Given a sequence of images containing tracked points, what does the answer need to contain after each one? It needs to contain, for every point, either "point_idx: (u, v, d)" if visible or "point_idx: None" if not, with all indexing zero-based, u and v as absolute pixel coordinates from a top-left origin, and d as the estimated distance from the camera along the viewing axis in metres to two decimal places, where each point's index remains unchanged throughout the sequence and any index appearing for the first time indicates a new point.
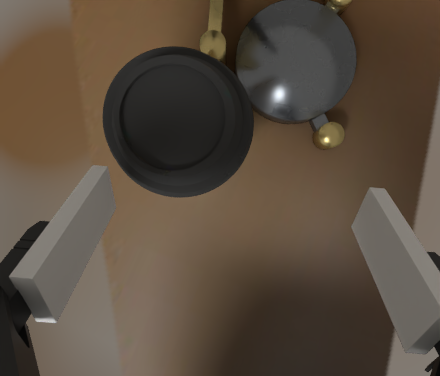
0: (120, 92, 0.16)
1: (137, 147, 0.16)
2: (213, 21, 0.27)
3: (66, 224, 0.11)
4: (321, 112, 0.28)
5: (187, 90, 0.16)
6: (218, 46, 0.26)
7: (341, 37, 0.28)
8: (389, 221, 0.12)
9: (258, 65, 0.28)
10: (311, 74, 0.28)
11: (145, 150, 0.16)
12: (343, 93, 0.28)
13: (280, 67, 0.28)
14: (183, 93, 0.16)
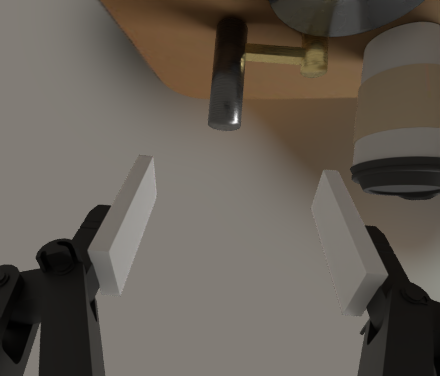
0: None
1: (409, 191, 0.29)
2: (288, 61, 0.28)
3: (127, 206, 0.12)
4: None
5: None
6: (317, 67, 0.27)
7: None
8: (335, 198, 0.13)
9: (342, 19, 0.23)
10: None
11: (413, 191, 0.28)
12: None
13: None
14: (390, 185, 0.27)
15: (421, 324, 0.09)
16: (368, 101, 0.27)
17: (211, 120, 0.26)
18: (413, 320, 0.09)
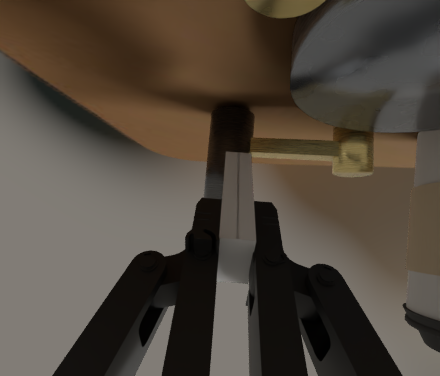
0: None
1: None
2: (313, 158, 0.19)
3: (236, 199, 0.13)
4: None
5: None
6: (358, 171, 0.18)
7: None
8: (237, 177, 0.14)
9: (408, 117, 0.15)
10: None
11: None
12: None
13: None
14: None
15: (283, 281, 0.10)
16: (435, 220, 0.18)
17: None
18: (276, 281, 0.10)
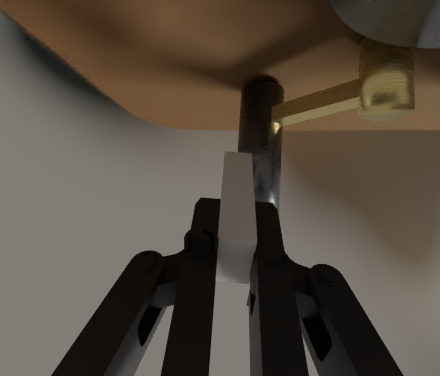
0: None
1: None
2: (339, 108, 0.16)
3: (235, 198, 0.13)
4: None
5: None
6: (386, 107, 0.14)
7: None
8: (238, 177, 0.14)
9: None
10: None
11: None
12: None
13: None
14: None
15: (284, 282, 0.10)
16: None
17: None
18: (277, 281, 0.10)
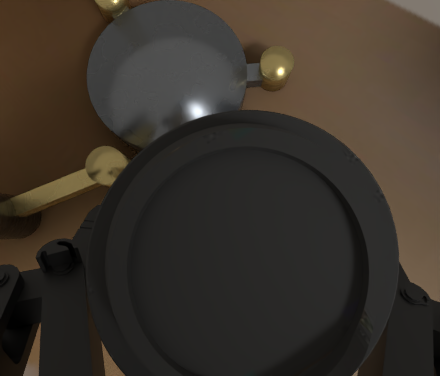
0: (152, 361, 0.07)
1: (282, 366, 0.07)
2: (75, 184, 0.19)
3: None
4: (244, 65, 0.21)
5: (200, 211, 0.07)
6: (105, 155, 0.18)
7: (162, 12, 0.22)
8: None
9: (155, 119, 0.21)
10: (192, 60, 0.21)
11: (295, 350, 0.07)
12: (230, 32, 0.22)
13: (169, 93, 0.21)
14: (203, 222, 0.07)
15: (421, 324, 0.09)
16: None
17: None
18: (412, 320, 0.09)
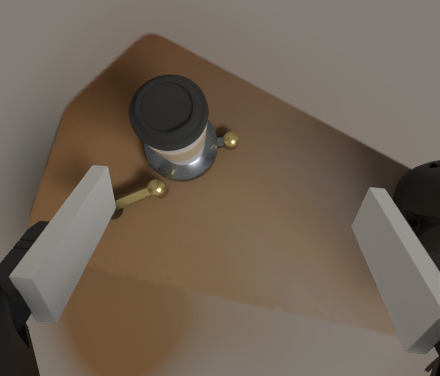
0: (145, 125, 0.31)
1: (173, 128, 0.32)
2: (142, 195, 0.44)
3: (66, 224, 0.11)
4: (216, 139, 0.46)
5: (156, 96, 0.32)
6: (155, 183, 0.43)
7: None
8: (389, 221, 0.12)
9: (175, 165, 0.46)
10: None
11: (176, 125, 0.32)
12: (210, 124, 0.47)
13: None
14: (157, 99, 0.32)
15: None
16: None
17: None
18: None
